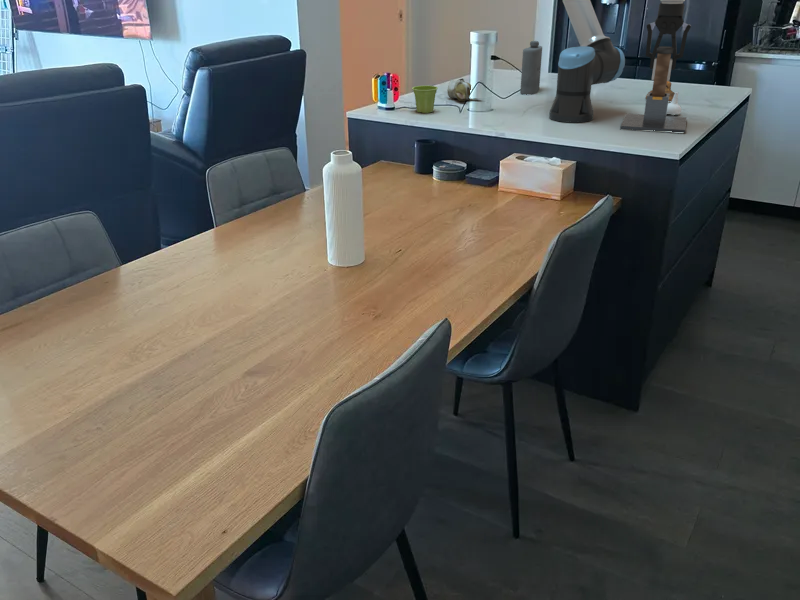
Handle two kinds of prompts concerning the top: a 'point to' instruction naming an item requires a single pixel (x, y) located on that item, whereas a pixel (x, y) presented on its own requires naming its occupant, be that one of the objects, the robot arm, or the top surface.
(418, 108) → the plant pot
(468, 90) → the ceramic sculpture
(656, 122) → the sleeve stand
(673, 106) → the garlic bulb
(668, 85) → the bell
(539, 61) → the flask
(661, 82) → the post
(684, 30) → the robot arm
